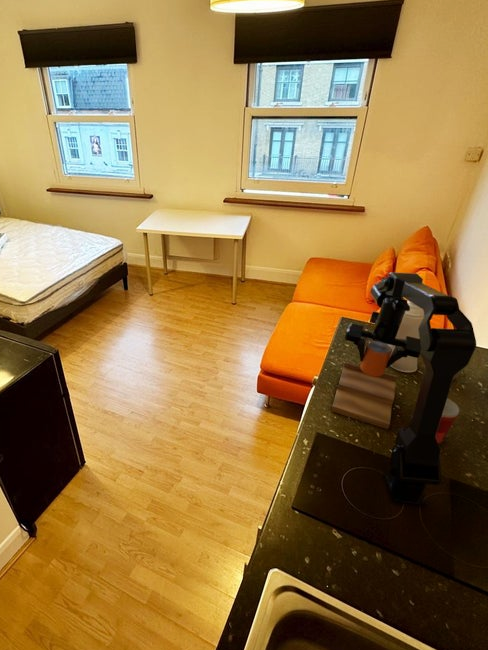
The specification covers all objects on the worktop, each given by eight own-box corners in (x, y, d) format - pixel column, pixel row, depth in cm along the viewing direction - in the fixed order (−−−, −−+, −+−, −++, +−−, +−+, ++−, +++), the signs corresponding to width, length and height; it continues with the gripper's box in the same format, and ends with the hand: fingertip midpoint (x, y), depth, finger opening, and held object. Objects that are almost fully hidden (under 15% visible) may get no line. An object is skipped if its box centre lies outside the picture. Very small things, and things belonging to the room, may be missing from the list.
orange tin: (386, 377, 106) (395, 354, 101) (362, 375, 107) (370, 352, 102) (380, 363, 111) (388, 341, 107) (358, 361, 112) (365, 339, 108)
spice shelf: (387, 429, 102) (393, 415, 99) (330, 410, 108) (335, 396, 105) (392, 389, 115) (397, 375, 112) (341, 375, 121) (345, 361, 118)
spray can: (397, 377, 120) (424, 310, 106) (371, 359, 128) (393, 294, 114) (422, 368, 124) (452, 301, 110) (396, 350, 132) (420, 287, 118)
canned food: (447, 447, 97) (464, 418, 91) (414, 443, 98) (429, 413, 92) (437, 425, 103) (453, 396, 97) (406, 421, 104) (419, 392, 98)
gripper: (429, 311, 101) (410, 357, 110) (356, 296, 109) (344, 341, 117) (430, 332, 93) (409, 379, 102) (351, 314, 100) (338, 360, 109)
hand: (374, 363), depth 108 cm, fingers closed on orange tin, 6 cm apart
